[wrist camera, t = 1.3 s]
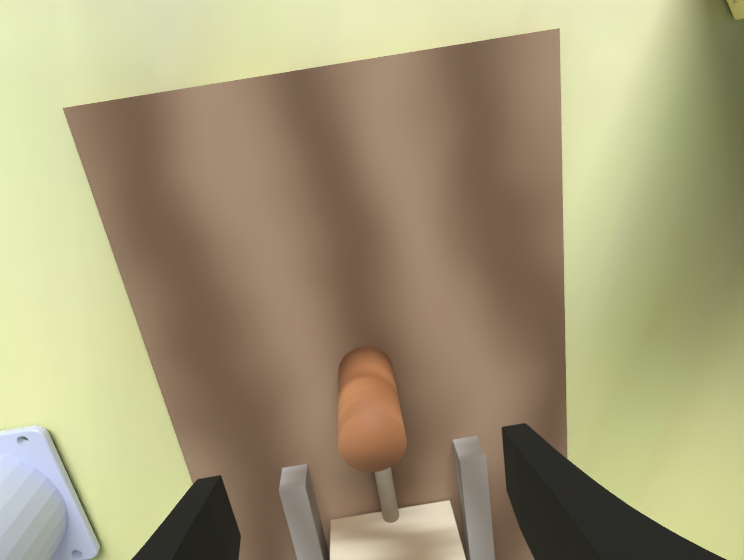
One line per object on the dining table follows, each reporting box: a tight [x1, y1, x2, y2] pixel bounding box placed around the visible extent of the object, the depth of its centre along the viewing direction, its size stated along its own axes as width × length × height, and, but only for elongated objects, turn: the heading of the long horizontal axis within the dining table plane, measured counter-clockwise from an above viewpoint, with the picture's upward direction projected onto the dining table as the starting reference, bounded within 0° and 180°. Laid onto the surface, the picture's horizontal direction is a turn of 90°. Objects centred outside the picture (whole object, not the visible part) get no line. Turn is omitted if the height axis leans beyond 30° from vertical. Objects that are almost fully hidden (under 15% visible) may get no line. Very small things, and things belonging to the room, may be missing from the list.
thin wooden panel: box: [63, 29, 567, 560], centre depth 24 cm, size 18×36×2 cm, turn 9°
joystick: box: [330, 347, 466, 560], centre depth 22 cm, size 6×14×5 cm, turn 9°
